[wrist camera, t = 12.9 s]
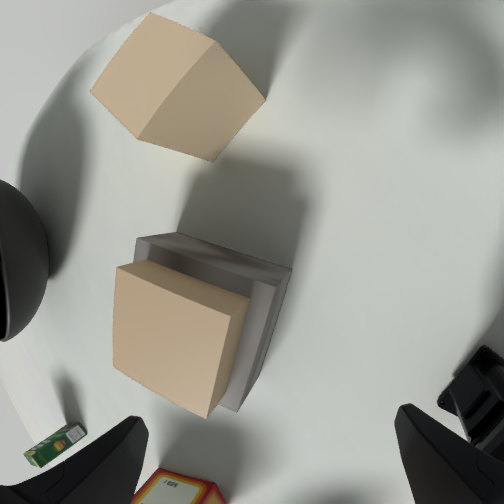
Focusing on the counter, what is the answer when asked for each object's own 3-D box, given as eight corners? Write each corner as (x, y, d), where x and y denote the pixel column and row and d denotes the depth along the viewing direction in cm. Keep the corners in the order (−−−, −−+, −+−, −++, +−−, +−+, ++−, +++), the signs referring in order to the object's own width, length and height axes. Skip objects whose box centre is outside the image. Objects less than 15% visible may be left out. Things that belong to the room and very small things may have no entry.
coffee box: (79, 421, 35) (29, 455, 23) (89, 434, 35) (40, 470, 23) (66, 423, 38) (22, 452, 26) (74, 435, 38) (31, 465, 26)
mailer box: (265, 100, 19) (215, 40, 11) (212, 162, 21) (136, 139, 13) (210, 64, 20) (149, 12, 12) (164, 120, 22) (89, 90, 14)
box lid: (250, 298, 16) (230, 316, 14) (224, 394, 18) (206, 419, 15) (146, 259, 18) (116, 267, 15) (138, 350, 20) (113, 366, 17)
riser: (292, 269, 20) (275, 287, 16) (257, 378, 23) (237, 412, 18) (175, 232, 23) (136, 237, 18) (160, 334, 25) (126, 355, 21)
